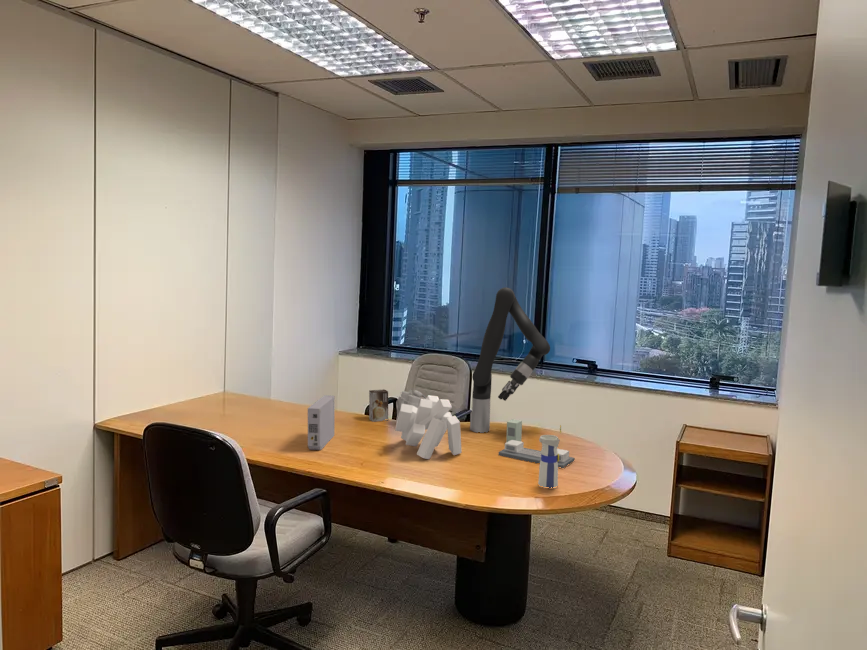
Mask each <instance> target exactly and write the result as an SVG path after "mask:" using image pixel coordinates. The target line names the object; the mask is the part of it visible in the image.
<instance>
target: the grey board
mask: <svg viewBox="0 0 867 650" xmlns="http://www.w3.org/2000/svg"><path fill="white" fill-rule="evenodd" d="M523 448H524V449H529V450H534V451H539V452H540V451H541V450H537V449H532V448H526V447H523ZM504 449H505V448H503V449H502V450H499V451H498V454H497V455H498V456H501V457H505V458H509V459H514V460H518V459H519V460H518V461H523V460H524V462H528V461H529V463H532V462H535V463H534V464H537V463H540V461H541V458H536V457H531V456H526V455H521V454H516V453H512V452H507V451H504ZM569 458H570V459H569V460H568V461H567V462H565V463H560V462H558V467H561V468H564V467H565V466H567V465H568V464H570V463H571V462H573V461H574V460H576V459H575V457H572V456H569ZM574 462H575V461H574ZM574 462H573V463H574ZM571 464H572V463H571ZM571 464H570V465H571ZM568 466H569V465H568ZM568 466H567V467H568ZM565 468H566V467H565ZM565 468H564V469H565Z"/></svg>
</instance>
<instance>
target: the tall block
mask: <svg viewBox="0 0 867 650" xmlns="http://www.w3.org/2000/svg"><path fill="white" fill-rule="evenodd" d="M522 428H523V420H520V419H515V418H513V419H512V418H511V419H510V420H508V421H506V438H505V439H506V441H505V443H506V442H508V441H510V440H516V441H521V442H522V436H523V435H522V434H523V432H522V431H523V429H522Z"/></svg>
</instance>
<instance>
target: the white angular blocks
mask: <svg viewBox="0 0 867 650" xmlns="http://www.w3.org/2000/svg"><path fill="white" fill-rule="evenodd" d="M420 399H421V400H420V403H419V406H418V408H416V407H415V406H413V405H407V404H401V408H400V412H399V415H398V419H397V418H396V419H397V421H396V424H395V429H394V430H395V432H401V435H400V436H401V437H400V439H402V440H403V441H405V446H411V447H412V446H413V447H418V445H419V443H420V442H421V443H420V445H419V448H418V450H417V452H416V455H417V456H418V457H421V458H423V459H426V460H430V459H431V458H432V455H433V453H434V450H435V448H438V446H439V444H440V442H441V440H442V439H443V437H444V435H445V433H446V432H447V441H448V442H447V445H448V450H449V451H450V453H451V455H454V456H456V455H459V454H460V455H461V454H462V451H463V450H462V437H461V436H462V434H461V422H460V420H459V419H458V417H457V416H456V415H452V413H451V412H450V410H452V408H453V407H452V404H451V401H450V399H446V398H442V399H441V398H440V399H439V396H437V395H431V394H430V395H427V396H426V399H425V398H420Z"/></svg>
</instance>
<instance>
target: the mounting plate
mask: <svg viewBox="0 0 867 650" xmlns="http://www.w3.org/2000/svg"><path fill="white" fill-rule="evenodd" d="M524 448H525V447H523V449H521V450H520V451H518V452H513V451H508V450H505V448H503V449H504V451H507V452H512V453H516V454H521V455H526V456H531V457H536V458H541V453H540V452H539V451H540V450H538V451H534V450H535V449H533V450H529V449H530V448H528V449H524ZM569 459H570V458H568V459H566V460H565V461H563V462H562V461H558V462H560V463H565V462H567V461H568V460H569Z"/></svg>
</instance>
